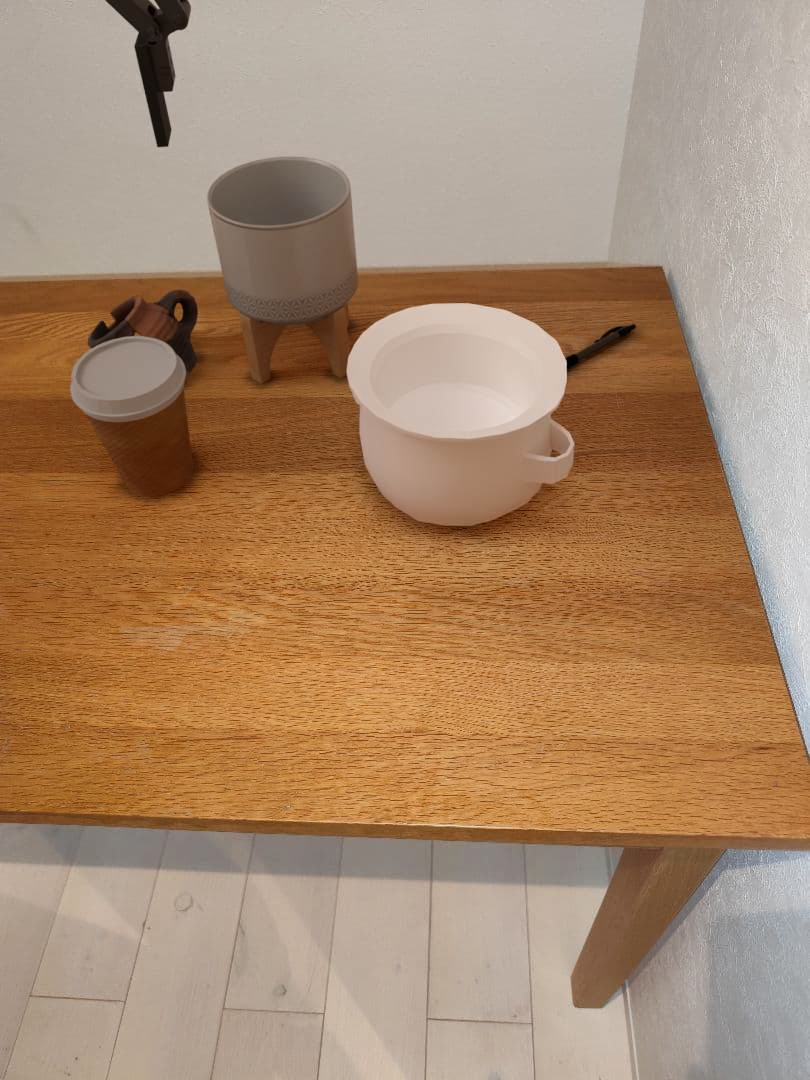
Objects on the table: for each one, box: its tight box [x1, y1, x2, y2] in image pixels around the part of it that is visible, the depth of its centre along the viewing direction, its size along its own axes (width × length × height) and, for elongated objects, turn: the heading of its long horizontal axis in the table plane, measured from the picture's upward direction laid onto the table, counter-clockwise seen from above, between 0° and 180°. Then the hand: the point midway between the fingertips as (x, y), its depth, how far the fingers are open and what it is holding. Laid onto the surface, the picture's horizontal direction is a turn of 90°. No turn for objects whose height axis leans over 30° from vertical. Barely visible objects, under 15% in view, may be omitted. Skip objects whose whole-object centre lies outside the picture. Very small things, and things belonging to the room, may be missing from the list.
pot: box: [346, 302, 575, 527], centre depth 76 cm, size 22×17×12 cm
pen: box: [565, 323, 637, 370], centre depth 91 cm, size 14×2×1 cm, turn 128°
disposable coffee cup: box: [69, 335, 194, 497], centre depth 78 cm, size 10×10×12 cm
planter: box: [206, 156, 359, 385], centre depth 87 cm, size 13×13×18 cm
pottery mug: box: [87, 289, 199, 380], centre depth 92 cm, size 12×10×8 cm
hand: (67, 145), depth 63 cm, fingers open, 13 cm apart
